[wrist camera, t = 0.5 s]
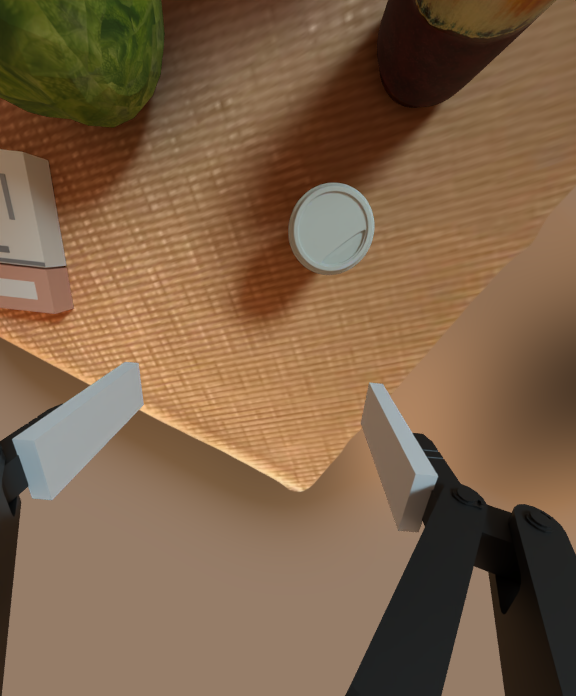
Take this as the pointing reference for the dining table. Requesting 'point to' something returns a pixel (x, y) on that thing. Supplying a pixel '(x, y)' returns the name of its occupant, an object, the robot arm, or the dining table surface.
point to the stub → (35, 288)
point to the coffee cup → (331, 228)
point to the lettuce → (81, 57)
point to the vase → (445, 43)
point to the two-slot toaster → (28, 212)
